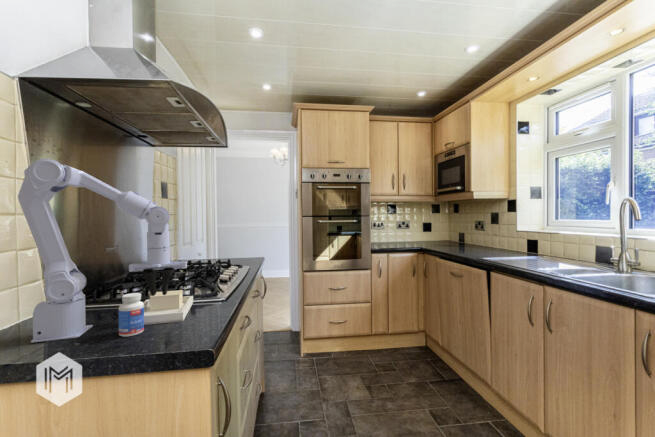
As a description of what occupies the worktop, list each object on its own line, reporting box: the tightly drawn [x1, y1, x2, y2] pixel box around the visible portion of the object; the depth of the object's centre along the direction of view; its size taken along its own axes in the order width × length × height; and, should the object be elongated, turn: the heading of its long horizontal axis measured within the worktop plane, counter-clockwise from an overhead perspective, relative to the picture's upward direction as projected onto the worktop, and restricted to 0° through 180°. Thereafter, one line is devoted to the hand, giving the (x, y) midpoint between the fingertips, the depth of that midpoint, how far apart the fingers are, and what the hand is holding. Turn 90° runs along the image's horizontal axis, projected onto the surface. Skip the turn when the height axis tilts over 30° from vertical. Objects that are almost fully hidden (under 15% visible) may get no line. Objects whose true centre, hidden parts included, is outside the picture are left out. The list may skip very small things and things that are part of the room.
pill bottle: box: [118, 292, 145, 338], centre depth 74 cm, size 6×5×10 cm
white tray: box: [142, 295, 194, 326], centre depth 89 cm, size 14×18×2 cm
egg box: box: [149, 289, 184, 311], centre depth 93 cm, size 8×6×4 cm
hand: (159, 294), depth 84 cm, fingers closed
